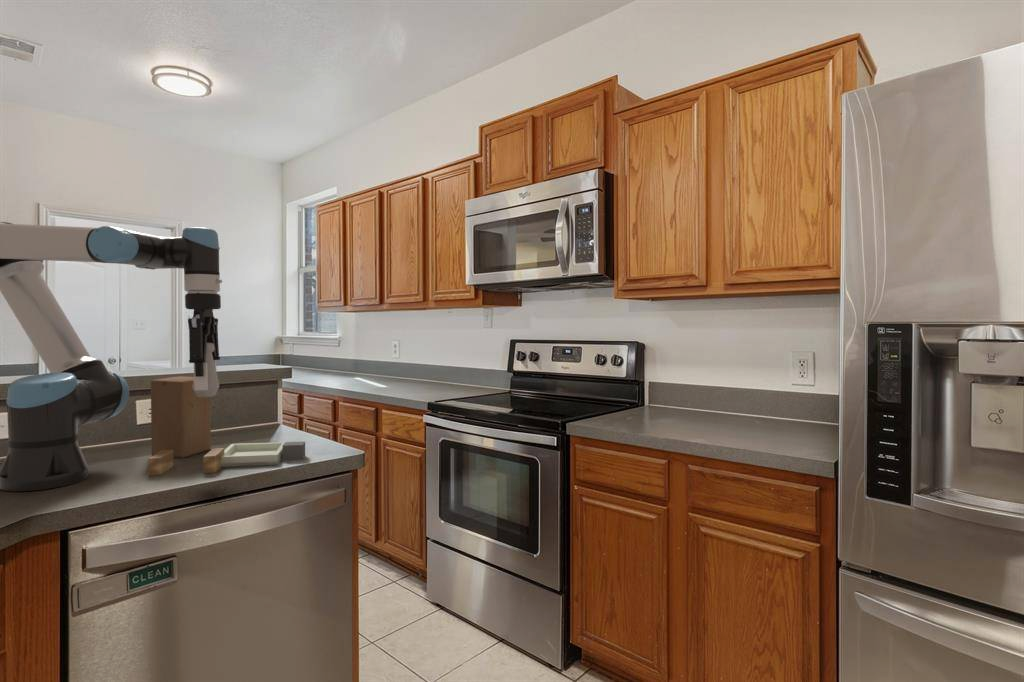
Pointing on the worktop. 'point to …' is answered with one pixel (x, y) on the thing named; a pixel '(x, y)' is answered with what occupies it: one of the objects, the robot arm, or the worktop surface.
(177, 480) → the worktop surface
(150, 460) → the wooden blocks
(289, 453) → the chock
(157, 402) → the wooden block
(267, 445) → the tray
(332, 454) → the worktop surface
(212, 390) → the salt shaker
